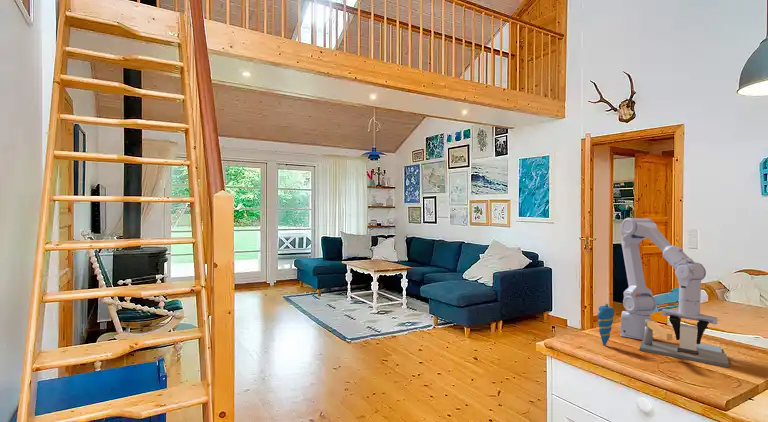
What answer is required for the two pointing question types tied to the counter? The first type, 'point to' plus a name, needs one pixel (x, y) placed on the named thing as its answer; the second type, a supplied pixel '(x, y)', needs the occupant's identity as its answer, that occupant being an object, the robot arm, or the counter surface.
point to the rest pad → (709, 347)
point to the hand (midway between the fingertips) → (688, 341)
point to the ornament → (605, 322)
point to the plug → (688, 336)
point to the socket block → (672, 350)
